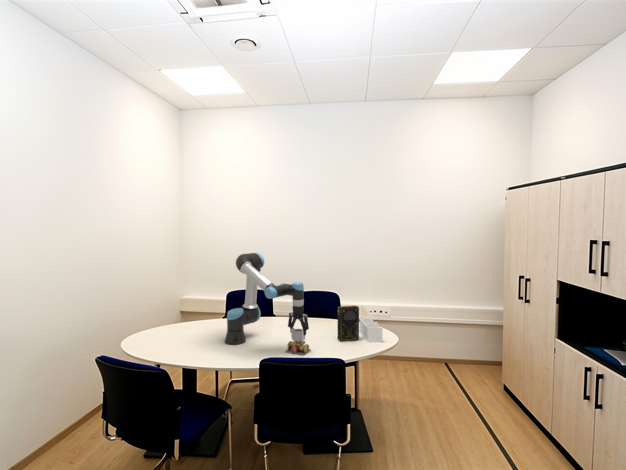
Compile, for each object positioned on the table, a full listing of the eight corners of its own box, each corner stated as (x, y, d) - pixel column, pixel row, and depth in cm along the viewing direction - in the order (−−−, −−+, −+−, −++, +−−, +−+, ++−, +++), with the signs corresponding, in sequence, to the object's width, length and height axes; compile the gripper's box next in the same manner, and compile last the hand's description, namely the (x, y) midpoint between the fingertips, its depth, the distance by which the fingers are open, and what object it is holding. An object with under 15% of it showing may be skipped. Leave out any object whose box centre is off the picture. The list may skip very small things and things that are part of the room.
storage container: (359, 332, 277) (359, 318, 277) (373, 331, 278) (373, 318, 278) (367, 342, 252) (367, 327, 252) (382, 342, 254) (382, 327, 253)
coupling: (296, 336, 240) (296, 328, 240) (306, 338, 236) (306, 329, 236) (289, 339, 233) (289, 331, 233) (299, 341, 229) (299, 332, 229)
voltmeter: (340, 342, 252) (340, 308, 252) (336, 338, 261) (336, 305, 260) (360, 340, 256) (360, 307, 256) (355, 337, 265) (355, 304, 264)
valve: (284, 352, 233) (284, 333, 233) (293, 347, 242) (293, 329, 242) (302, 356, 226) (302, 337, 226) (310, 350, 235) (310, 332, 235)
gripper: (282, 304, 236) (282, 337, 236) (308, 308, 225) (308, 342, 226) (288, 302, 242) (288, 335, 243) (314, 305, 232) (314, 339, 232)
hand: (298, 338), depth 234 cm, fingers closed on coupling, 8 cm apart
